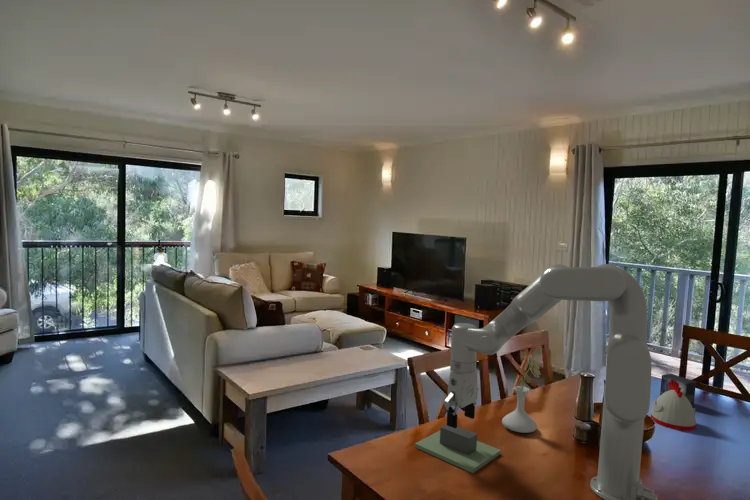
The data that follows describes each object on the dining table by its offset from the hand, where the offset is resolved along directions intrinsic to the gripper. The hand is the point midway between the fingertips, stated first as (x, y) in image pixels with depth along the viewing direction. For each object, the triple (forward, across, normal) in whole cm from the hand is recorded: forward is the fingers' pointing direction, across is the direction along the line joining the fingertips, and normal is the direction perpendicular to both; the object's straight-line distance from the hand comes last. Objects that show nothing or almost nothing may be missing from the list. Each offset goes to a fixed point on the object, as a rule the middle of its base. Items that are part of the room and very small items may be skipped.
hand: (460, 421), depth 141 cm
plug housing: (+8, 0, +1) cm, 8 cm away
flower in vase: (+10, +30, -5) cm, 32 cm away
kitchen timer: (+11, +78, -41) cm, 89 cm away
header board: (+9, 0, +1) cm, 9 cm away
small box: (+11, +102, -38) cm, 109 cm away
